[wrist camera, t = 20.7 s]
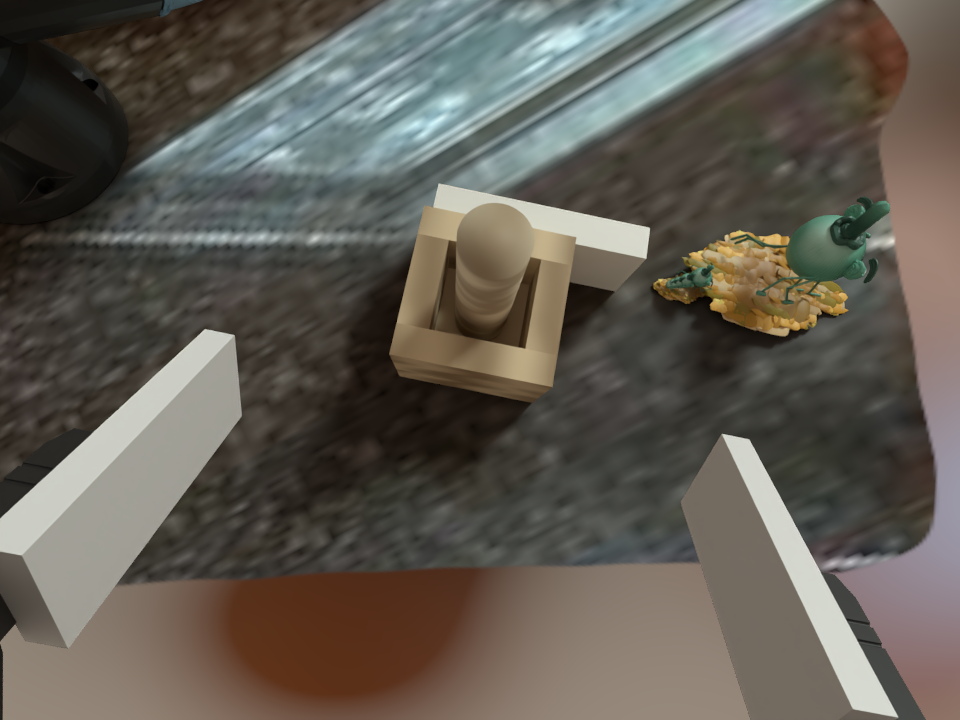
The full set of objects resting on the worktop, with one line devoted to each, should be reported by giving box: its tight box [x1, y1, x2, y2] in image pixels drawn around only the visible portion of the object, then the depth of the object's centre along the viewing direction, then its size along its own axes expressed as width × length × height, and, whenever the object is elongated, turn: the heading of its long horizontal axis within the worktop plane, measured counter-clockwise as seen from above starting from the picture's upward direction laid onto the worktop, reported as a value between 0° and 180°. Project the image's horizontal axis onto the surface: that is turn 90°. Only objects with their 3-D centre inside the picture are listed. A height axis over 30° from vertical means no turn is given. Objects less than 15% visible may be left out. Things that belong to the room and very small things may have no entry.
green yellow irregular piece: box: [653, 197, 890, 336], centre depth 39 cm, size 10×18×15 cm, turn 79°
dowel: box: [455, 203, 535, 341], centre depth 33 cm, size 4×4×14 cm
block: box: [389, 206, 576, 403], centre depth 39 cm, size 11×11×8 cm
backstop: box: [434, 184, 650, 291], centre depth 41 cm, size 16×2×7 cm, turn 79°
